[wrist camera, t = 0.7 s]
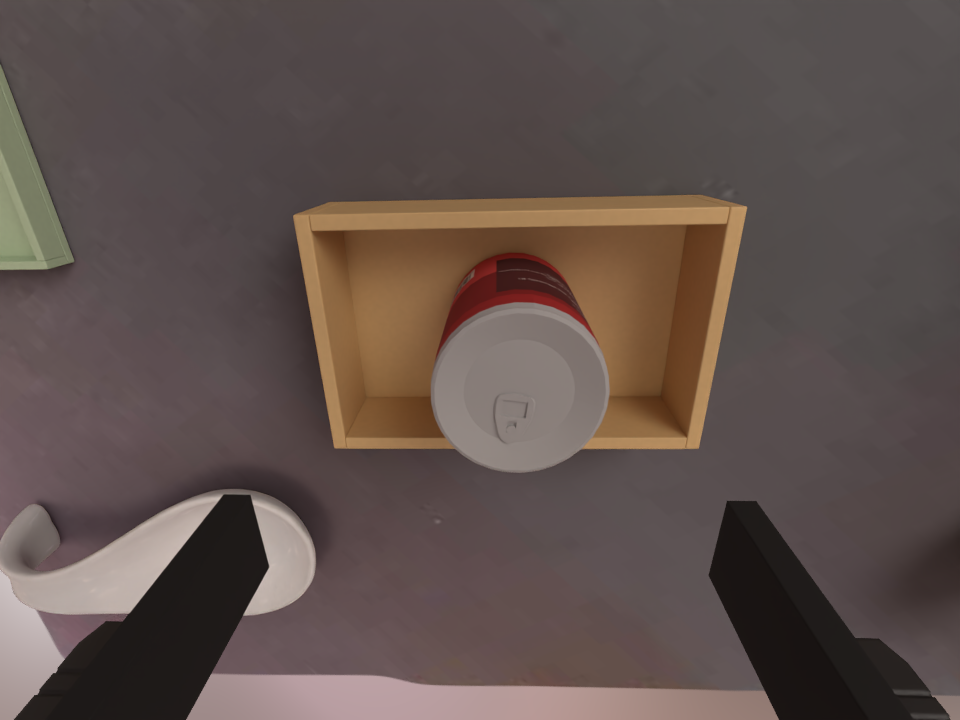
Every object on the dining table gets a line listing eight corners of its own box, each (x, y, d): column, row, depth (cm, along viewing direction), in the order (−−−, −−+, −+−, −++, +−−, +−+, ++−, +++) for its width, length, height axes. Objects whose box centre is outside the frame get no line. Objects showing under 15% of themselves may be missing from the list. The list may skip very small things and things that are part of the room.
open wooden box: (358, 403, 34) (333, 448, 29) (328, 201, 28) (292, 214, 23) (668, 402, 33) (699, 449, 28) (702, 194, 27) (748, 206, 22)
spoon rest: (314, 462, 36) (274, 533, 29) (339, 575, 41) (309, 657, 34) (15, 466, 37) (-88, 535, 31) (74, 575, 42) (-4, 655, 35)
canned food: (462, 376, 32) (446, 483, 22) (440, 258, 29) (409, 321, 19) (577, 362, 31) (615, 465, 21) (568, 239, 28) (607, 294, 18)
